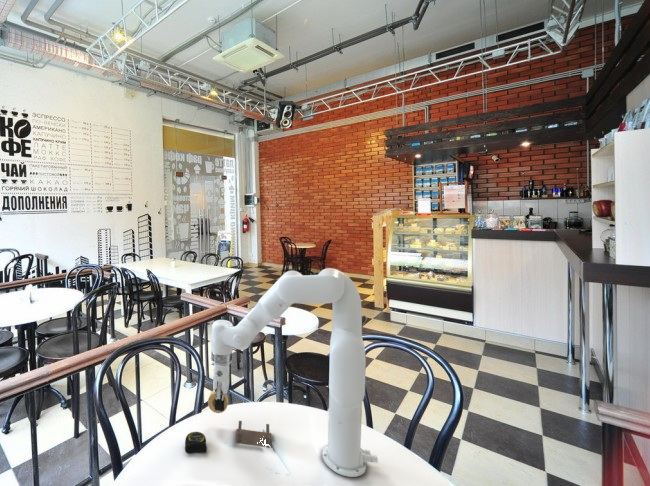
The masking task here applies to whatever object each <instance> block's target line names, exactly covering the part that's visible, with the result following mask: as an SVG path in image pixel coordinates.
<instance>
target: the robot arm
mask: <svg viewBox="0 0 650 486" xmlns="http://www.w3.org/2000/svg"><path fill="white" fill-rule="evenodd" d="M293 304H332V305H331V306H332V309H331V310H332V313H331V314H332V322H331V323H332V325H331V329H332V330H331V335H330V338H329V339H330V340H329V366H328V367H329V369H328V370H329V371H328V389H329V390H328V417H327V418H328V420H327V445H325V446H324V447H323V448H322V453H321V457H322V460H323V462H324V463H325V465H326V466H327V467H328V468H329V469H330V470H331V471H333V472H335V473H337V474H338V475H341V476H344V477H348V478H357V477H360V476H362V475H363V474H364V473H365V472H366V470H367V463H368V462H369V463H373V464H378V463H379V460H378V456H377V455H376V454H371V450H370V449H364V448H363V449H362V417H363V401H364V399H365V394H366V373H367V372H366V367H367V366H366V365H367V363H366V361H367V359H366V358H367V357H366V349H365V343H364V339H363V310H362V299H361V295H360V292H359V289H358V288H357V286H356V284H355V283H354V281H353V279H351V278H350V277H349V276H348V275H347V274H346V273H344V272H342V270H339V269H337V268H334V267H333V268H332V267H327V268H324V269H322V270H320V271H319V273H318V274H310V275H307V274H305V275H303V274H301V272H299V271H297V270H288V271H286V272H284V273H283V274H282V275H281V276H280V277H279V278H278V279H277V280H276V281H275V282H274V284H273V285H272V286H271V287H270V288H269V289H267V291H266V292H265V293H264V294H263V295H262V296H261V297H260V298H259V299H258V301H257V303H256V304H255V306H254V307H252V308H251V310H250V311H249V312H248V313H247V314H246V315H245V316H244V317H243V318H242V319H241V320H240V321H239V322H238V323H237V324H236V325H235V326H234V325H233V322H231V321H229V320H226V319H217V320H215V321H213V322H212V324H211V346H210V347H211V349H210V362H211V363H213V378H212V379H213V385H212V387H213V388H212V391H214V393H215V392H216V398H215V410H218V411H224V394H226V395H228V393H229V388H230V387H229V386H230V364H232V362H233V349H235V350H239V351H245V350H247V349H248V348H250V347H251V344H252V343H253V341H254V340H255V338H257V336H258V335H259V333H261V331H263V330H264V328H265V327H267V325H269V324H270V323H271V322H272V321H274V320H278V319H279V318H280V317H281V316H282V315H283V314H284V313H285V312H286V311H287V310H288V309H289V308H290V307H291V306H292V305H293ZM221 393H222V395H221ZM224 412H225V411H224Z"/></svg>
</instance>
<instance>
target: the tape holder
mask: <svg viewBox="0 0 650 486" xmlns="http://www.w3.org/2000/svg"><path fill="white" fill-rule="evenodd" d="M242 423H243V421H242V420H238V427H237V428H236V431H235V439H234V444H240V445H246V446H247V445H248V446H254V447H255V446H256V447H264V448H266V447H265V445H264V446H263V445H262V443H263V444H264V440H265V439H266V444H269V445H270V446H271V448H273V443H272V442H273V441H272V433H271V432H270V424H269V423H266V424H265V425H266V426H265V431H259V430H257V431H256V430H249V429H243V424H242ZM263 436H264V437H263ZM260 438H261V439H260ZM262 438H263V441H261V442H262V443H261V442H260V440H262ZM257 442H258V444H257ZM259 442H260V443H259Z"/></svg>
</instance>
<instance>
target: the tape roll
mask: <svg viewBox="0 0 650 486" xmlns="http://www.w3.org/2000/svg"><path fill="white" fill-rule="evenodd" d="M221 395H222V393H221ZM215 398H216V392H215V393H214V391H213V390H212V391H211V392H210V393H209V395H208V398H207V407H208V408H209V410H210V411H212V412H213V413H215V414H221V413H224V412H225V411H226V409H227V408H228V403H229V397H228V394H224V411H218V410H215Z"/></svg>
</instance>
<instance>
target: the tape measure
mask: <svg viewBox="0 0 650 486" xmlns="http://www.w3.org/2000/svg"><path fill="white" fill-rule="evenodd" d="M184 452H185V453H186V454H206V453H207V438H206V435H205V434H204V433H203V432H201V431H191V432H189V433H188V434H187V435H186V436H185V441H184Z"/></svg>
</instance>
